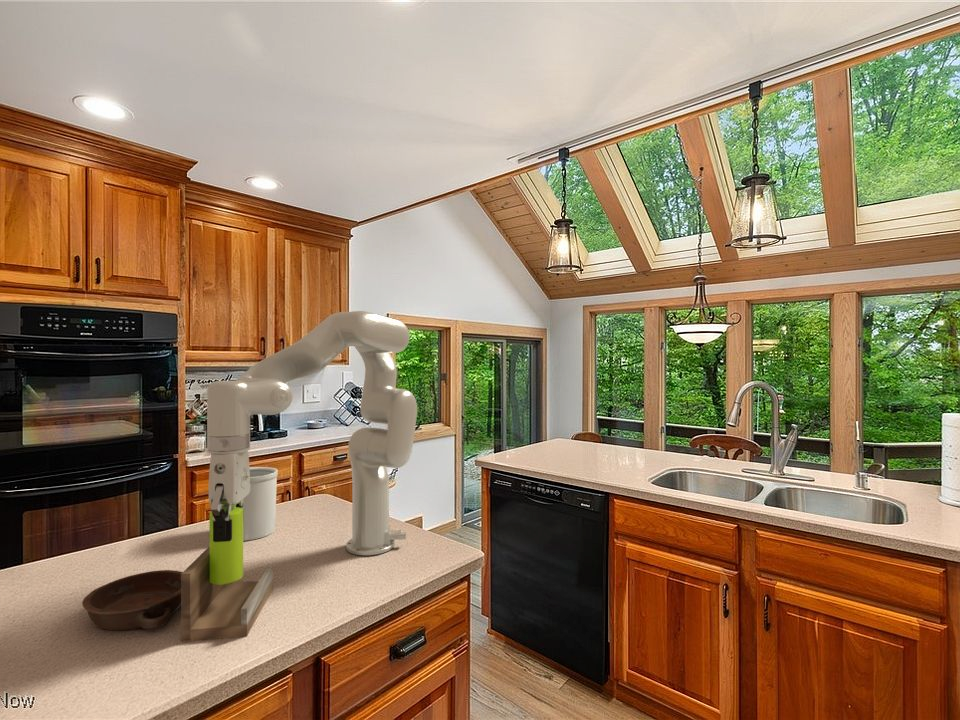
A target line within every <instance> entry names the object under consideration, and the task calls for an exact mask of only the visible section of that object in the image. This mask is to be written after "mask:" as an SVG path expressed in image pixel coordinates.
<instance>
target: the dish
mask: <svg viewBox="0 0 960 720" xmlns="http://www.w3.org/2000/svg"><path fill="white" fill-rule="evenodd" d="M183 572H184V571H180V570H173V569H171V570H170V569H165V570H164V569H163V570H161V569H160V570H151V571H146V572H141V573H136V574H132V575H129V576H125V577H121V578H119V579H116V580H113V581H111V582H108V583H106V584H104V585H101V586H99V587H96V588H94V590H92V591H90V592H89V593H88V594H87V595H86V596H85V597H84V598H83V600H82V602H81V603H82V607H83V609H84V610H85V611H87V614H88V616H89V619H90V621H91V623H92V624H93V625H94V626H95V627H97V628H99V629H100V628H101V629H104V630H109V631H128V630H134V629H139V628H143V629H147V630H152V629H154V630H155V629H158V628H160V627H162V626H164V625H165V624H167V622H168V621H170V619H171V615H172V614H173V613H174V612H176V610H177V609H179V607H181V574H182V573H183Z"/></svg>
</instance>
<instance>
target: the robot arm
mask: <svg viewBox="0 0 960 720" xmlns="http://www.w3.org/2000/svg"><path fill="white" fill-rule="evenodd" d="M410 339H411V337H410V331H409V329H408V326H407V325H406V324H405V323H404V322H402V321H401V320H398V319H395V318H391V317H388V316H385V315H382V314H377V313H373V312H371V311H366V310H365V311H363V310H355V311H353V310H352V311H339V312H335V313H332V314H330V315H329V316H328V317H326V318H325V319H324V320H323V321H321V322H320V323H319V324H317V325H316V326H314V328H312V329H311V330H310V331H309V332H308V333H307V334H305V335H304V336H303V337H301V339H299V340H298V341H296V342H295V343H292V345H289V346H286V347H285V348H282V349H281V350H278V351H277V352H275V353H274V354H271V355H268V356H267V357H265V358H263V359H262V360H260V361H259V362H257V363H255V364H254V365H253V366H251V367H250V368H249V369H247V370H246V371H245V372H243V374H241V375H240V376H239V377H238V378H237V379H235V380H216V381H213V382H210V383H209V385H208V386H207V395H206V396H207V399H206V401H207V402H206V403H207V404H206V406H207V409H206V410H207V411H206V413H207V414H206V416H207V417H206V421H207V422H206V423H207V424H206V425H207V426H206V427H207V429H206V432H207V433H206V441H207V442H206V443H207V445H206V450H207V451H206V452H207V454H209V455H210V460H209V461H210V463H209V474H208V503H209V504H210V512H212V513H213V514H212V515H213V541H214V542H226V541H231V540H232V519H230V515H231V507H232V504H233V505H236V507H239V508H243V506H244V502H243V499H244V498H245V497H246V496H247V495H248V494H249V492H250V467H251V466H250V455H249V451H250V450H251V416H252V415H265V416H274V415H278V414H281V413H283V412H284V411H286V410H287V409H288V408H289V407H290V406H291V404H292V401H293V391H292V389H291V387H290V386H289V384H287V383H289V382H291V381H294V380H296V379H301V378H306V377H309V376H312V375H314V374H317V373H320V372H321V371H322V370H324V369H325V368H326V367H327V366H328V365H330V364H331V362H332V361H334V360H335V359H336V358H337V357H338V356H339V355H341V353H343V352H344V351H345V350H346V349H347V348H349V347H354V348H355V349H356V350H357V353H359V355H360V356H361V358H362V361H363V363H364V368H365V369H364V372H365V373H364V381H363V389H362V394H361V400H360V409H359V410H360V416H361V418H363V420H365V421H367V422H371V423H375V424H382V425H383V424H384V425H387V429H385V428H379V427H378V428H377V427H363V428H362V427H361V428H359V429H357V430H355V432H353V433H352V435H351V436H350V438H349V440H348V444H347V445H348V448H347V449H348V456H349V460H350V466H351V477H352V480H351V481H352V483H351V484H352V494H351V495H352V496H351V497H352V510H351V511H352V516H351V517H352V518H351V519H352V521H351V522H352V524H351V526H352V529H351V531H352V532H351V535H352V536H351V537H352V538H350V539H349V540H348V541H347V542H346V544H345V549H346V551H347V552H349V553H350V554H353V555H355V556H356V555H357V556H376V555H381V554H383V553H384V554H385V553H386V552H389V551H390V550H392V549H393V548H395V542H396V541H397V540H399V541H400V540H401V541H403V540H407V539H406V538H407V532H406V531H402V529H397V530H393V529H391V524H390V480H389V479H390V478H389V474H388V470H387V469H386V468H389V469H390V468H391V469H399V468H402V467H404V466H405V465H406V464H407V463H408V462H409V461H410V458H411V456H412V452H413V446H414V441H415V434H416V433H415V432H416V424H417V418H418V404H417V400H416V397H415V396H414V394H413V393H412V392H411V391H410V390H408V389H404V388H396V387H397V376H398V375H397V374H398V370H397V365H396V362H395V360H394V358H393V357H392V355H391V354H398V353H401V352H402V351H404V350H405V349H406V348H407V347H408V346H409V343H410ZM247 476H249V477H248V478H247ZM222 501H227V502H228V503H226V504H221V502H222ZM222 507H226V513H225V511H224V509H221V508H222ZM395 540H396V541H395Z"/></svg>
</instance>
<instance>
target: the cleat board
mask: <svg viewBox="0 0 960 720" xmlns="http://www.w3.org/2000/svg"><path fill="white" fill-rule="evenodd" d="M182 572H183V573H182V574H181V604H180V642H190V641H203V640H212V639H213V640H215V639H226V638H238V637H239V638H240V637H241V638H242V637H247V636H248V635H249V634H250V631H251V630H252V627H253V626H254V624H255V622H256V620H257V619H258V617H259V615H260V613H261V611H262V610H263V607H264V606H265V604H266V602H267V600H268V598H269V597H270V595H271V593H272V591H273V590H274V566H272V565H271V566H267V567H266V569H265V571H264V573H263V574H262V576H261V577H260V579H259V580H255V581H254V580H253V581H240V582H239V581H235V582H232V583H228V584H222V585H216V584H212V583H210V545H209V546H208V547H207V548H206V549H205V550H204V551H203V552H202V553H201V554H200V555H199V556H198V557H197V558H195V560H194V561H192V563H191V564H189V566H188V567H187V568H186V569H185V570H184V571H182Z"/></svg>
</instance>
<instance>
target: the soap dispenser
mask: <svg viewBox="0 0 960 720" xmlns="http://www.w3.org/2000/svg"><path fill="white" fill-rule="evenodd" d="M248 477H249V476H247V478H248ZM226 503H228V502H227V501H222V502H221V504H226ZM221 509H224V511H225V513H226V507H222V508H221ZM212 514H213V513H212V511H210V512H209V546H210V583H212V584H216V585H222V584H228V583H235V582H238V581H239V580H241V579H242V578H243V577H244V541H243V509H242V508H239V507H236V505H233V504H232V507H231V515H230V519H232V540H231V541H226V542H214V541H213V515H212Z"/></svg>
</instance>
